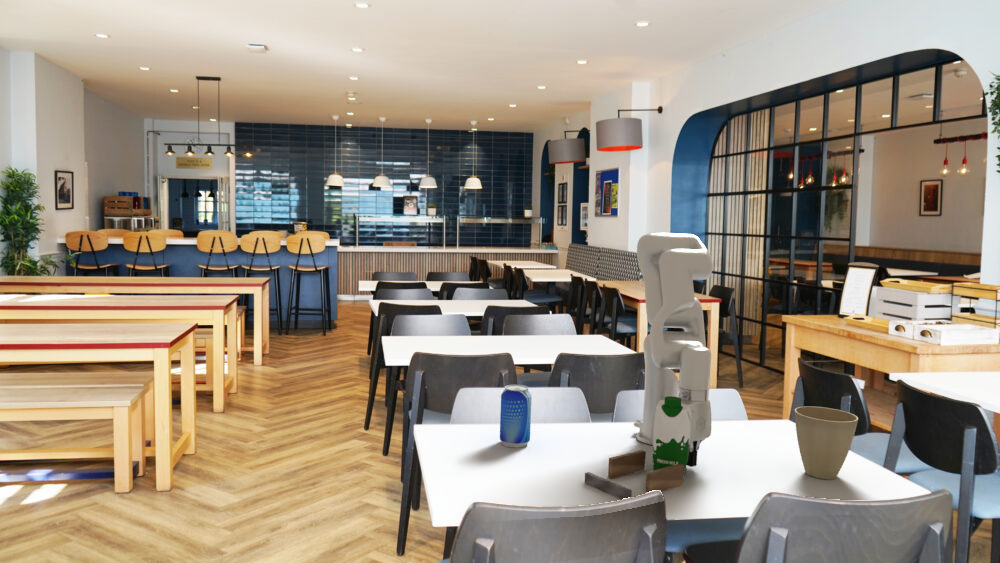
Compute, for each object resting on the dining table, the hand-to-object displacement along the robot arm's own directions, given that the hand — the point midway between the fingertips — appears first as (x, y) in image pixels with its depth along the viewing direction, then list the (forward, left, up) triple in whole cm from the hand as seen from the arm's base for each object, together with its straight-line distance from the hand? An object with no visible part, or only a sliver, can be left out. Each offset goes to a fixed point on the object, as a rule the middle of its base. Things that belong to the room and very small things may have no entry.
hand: (689, 464), depth 196 cm
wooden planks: (0, -20, -1) cm, 20 cm away
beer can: (-40, -25, -1) cm, 48 cm away
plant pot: (+21, +27, -1) cm, 34 cm away
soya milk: (0, -7, -1) cm, 8 cm away
